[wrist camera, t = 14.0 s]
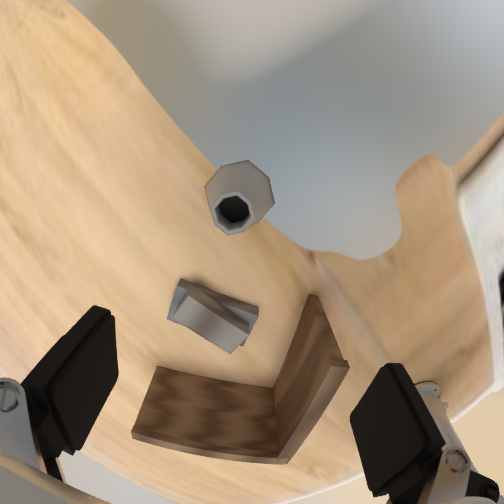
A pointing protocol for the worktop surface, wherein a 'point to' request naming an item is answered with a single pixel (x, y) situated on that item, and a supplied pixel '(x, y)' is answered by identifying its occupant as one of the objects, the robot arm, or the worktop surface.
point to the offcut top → (211, 320)
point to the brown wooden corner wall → (247, 402)
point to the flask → (238, 196)
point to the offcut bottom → (235, 306)
